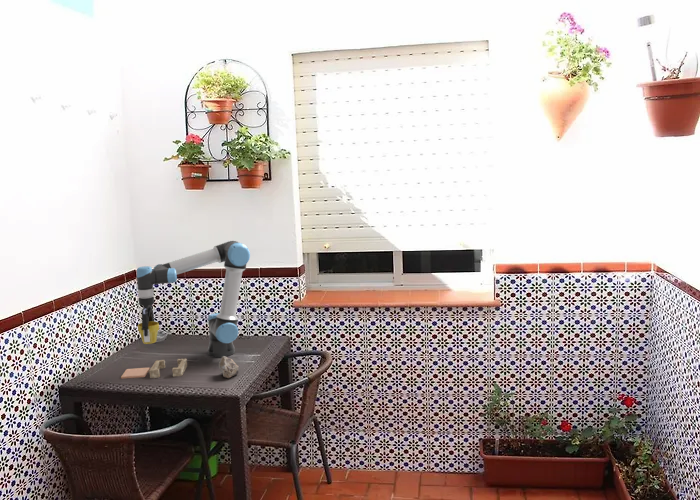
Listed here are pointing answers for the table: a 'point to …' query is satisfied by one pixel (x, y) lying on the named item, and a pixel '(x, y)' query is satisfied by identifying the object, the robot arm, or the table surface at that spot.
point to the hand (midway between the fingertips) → (149, 338)
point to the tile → (135, 373)
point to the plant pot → (150, 331)
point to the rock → (228, 367)
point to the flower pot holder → (161, 364)
